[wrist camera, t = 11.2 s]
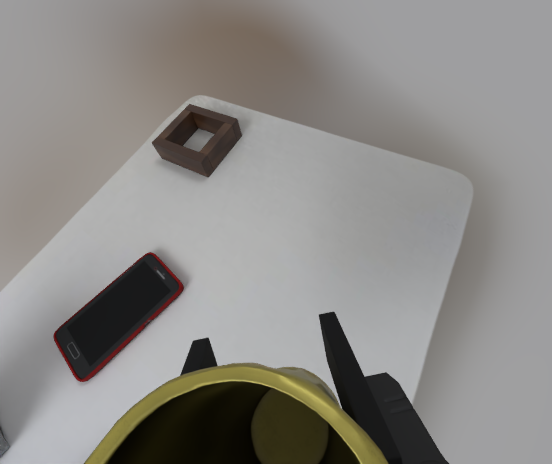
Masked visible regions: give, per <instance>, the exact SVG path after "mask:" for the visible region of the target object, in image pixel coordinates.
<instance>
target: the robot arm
mask: <svg viewBox="0 0 552 464" xmlns="http://www.w3.org/2000/svg"><path fill="white" fill-rule="evenodd" d="M319 319H320V324H321V330H322V335H323V341H324V346H325V352H326V357H327V362H328V365H329V368H330V371H331V374H332V378H333V381H334V384H335V387H336V390H337V393H338V397H339V400H340V403H341V406H342V409H343V411H344V412H346V413H347V414H348V415H349V416H350V417H351V418H352V419H353V420H354V421H355V422H356V423H357V424H358V425H359V426H360V427H361V428H362V429H363V430H364V431H365V432H366V433H367V434H368V435H369V437H370V438H371V439H372V440H373V442H374V443H375V444H376V445H377V446H378V448H379V449H380V450H381V451H382V453H383V455H384V457H385V459H386V460H387V462H388V464H449V463H448V462H447V461H446V460H445V458H444V457H443V456H442V454H441V453H440V451H439V450H438V448H437V446H436V445H435V443H434V441H433V439H432V438H431V436H430V435H429V433H428V431H427V429H426V428H425V426H424V425H423V423H422V421H421V419H420V418H419V416H418V415H417V413H416V411H415V410H414V409H413V406H412V404H411V403H410V401H409V399H408V398H407V397H406V394H405V393H404V391H403V389H402V388H401V386H400V384H399V383H398V382H397V381H396V380H395V379H394V378H392V377H391V376H390V375H389V374H387V373H381V374H376V375H371V376H366V377H364V375H363V373H362V371H361V368H360V366H359V364H358V362H357V360H356V358H355V355H354V353H353V351H352V349H351V347H350V345H349V342H348V340H347V338H346V336H345V334H344V332H343V329H342V327H341V325H340V323H339V321H338V319H337V316H336V314H335V312H330V313H325V314H320V315H319ZM216 366H217V363H216V359H215V356H214V353H213V350H212V347H211V344H210V341H209V338H204V339H199V340H194V341H193V343H192V345H191V348H190V351H189V353H188V356H187V359H186V361H185V364H184V367H183V370H182V372H181V375H184V374H187V373H190V372H194V371H197V370H201V369H206V368H211V367H216ZM181 375H180V376H181Z"/></svg>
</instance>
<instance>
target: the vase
mask: <svg viewBox="0 0 552 464" xmlns="http://www.w3.org/2000/svg"><path fill="white" fill-rule="evenodd" d="M84 464H388V462H387V460H386V459H385V457H384V455H383V453H382V451H381V450H380V449H379V448H378V446H377V445H376V444H375V443H374V442H373V440H372V439H371V438H370V437H369V435H368V434H367V433H366V432H365V431H364V430H363V429H362V428H361V427H360V426H359V425H358V424H357V423H356V422H355V421H354V420H353V419H352V418H351V417H350V416H349V415H348V414H347V413H346V412H344V411H343V410H342V409H341V408H340V405H339V403H338V401H337V399H336V397H335V395H334V393H333V392H332V390H331V389H330V388H329V387H328V386H327V384H326V383H325V382H324V381H322V380H321V379H320V378H319V377H318V376H316V375H315V374H313V373H311V372H309V371H307V370H305V369H302V368H296V367H282V368H277V369H275V368H270V367H267V366H264V365H261V364H257V363H232V364H228V365H222V366H216V367H211V368H206V369H201V370H197V371H194V372H190V373H187V374H184V375H181V376H179V377H177V378H174V379H172V380H170V381H168V382H166V383H165V384H163V385H162V386H160V387H158V388H157V389H155V390H154V391H152V392H151V393H149V394H148V395H147V396H146V397H144V398H143V399H142V400H140V401H139V402H138V403H136V404H135V405H134V406H133V407H132V408H130V409H129V410H128V411H127V412H126V413H125V414H124V415H123V416H122V417H121V418H120V419H119V420H118V421H117V422H116V423H115V424H114V426H113V427H112V428H111V430H110V431H109V432H108V433H107V435H106V436H105V437H104V438H103V440H102V441H101V442H100V443H99V445H98V446H97V447H96V449H95V450H94V451H93V452H92V454H91V455H90V456H89V458H88V459H87V460H86V461H85V463H84Z"/></svg>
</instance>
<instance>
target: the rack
mask: <svg viewBox="0 0 552 464" xmlns="http://www.w3.org/2000/svg"><path fill="white" fill-rule="evenodd" d="M198 128H200V129H203V130H205V131H208V132H211V133H214V134H215V135H214V136H213V137H212V138H211V139H210V140H209V141H208V143H207V144H206V145H205V146H204V147H203V148H202V150H201V151H200V152H197V151H194V150H191V149H189V148H186V147H184V146H182V145H183V144H184V143H185V142H186V141H187V140H188V139H189V138H190V136H191V135H192V134H193V133H194V132H195V131H196V130H197V129H198ZM241 136H242V134H241V131H240V127H239V123H238V120H237V119H236V118H233V117H230V116H226V115H223V114H220V113H217V112H214V111H210V110H207V109H204V108H201V107H198V106H194V105H191V104H189V105H188V106H187V107H186V108H185V109H184V110H183V111H182V112H181V113H180V114H179V115H178V116H177V117H176V118H175V119H174V120H173V121H172V122H171V123H170V125H169V126H168V127H167V128H166V129H165V130H164V131H163V132H162V133H161V134H160V135H159V136H158V137H157V138H156V139H155V140H154V141H153V142H152V144H153V146H154V147H155V149H156V150H157V152H158V153H159V155H160V156H161V158H162V159H165V160H167V161H170V162H172V163H175V164H177V165H179V166H182V167H184V168H187V169H189V170H192V171H194V172H196V173H199V174H201V175H204V176H206V177H209V176H210V175H211V173H212V172H213V170H215V168H216V167H217V166H218V165H219V163H220V162H221V161H222V160H223V158H224V157H225V156H226V155H227V153H228V152H229V151H230V150H231V149H232V147H233V146H234V145H235V144H236V142H237V141H238V140H239V139H240V137H241Z"/></svg>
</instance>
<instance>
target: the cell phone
mask: <svg viewBox="0 0 552 464" xmlns="http://www.w3.org/2000/svg"><path fill="white" fill-rule="evenodd" d="M134 264H135V265H134ZM134 264H133V265H132V266H131V267H129V268H128V269H127V270H128V271H127V270H126V271H125V272H124V273H122V274H121V275H122V276H121V275H120V276H121V277H120V276H119V277H118V278H117V279H115V280H114V281H113V282H112V283H111V284H109V285H108V286H107V287H106V288H105V289H104V290H102V291H101V292H100V293H99V294H98V295H97V296H95V297H94V298H93V299H92V300H91V301H90V302H88V303H87V304H86V305H85V306H84V307H83V308H81V309H80V310H79V311H78V312H77V313H75V314H74V315H73V316H72V317H71V318H70V319H68V320H67V321H66V322H65V323H64V324H63V325H61V326H60V327H59V328H58V329H57V330H56V331H55V333H54V341H55V343H56V345H57V346H58V348H59V350H60V352H61V354H62V355H63V357H64V359H65V361H66V362H67V364H68V366H69V368H70V370H71V371H72V373H73V375H74V376H75V378H76V379H77V380H78V381H80V382H85V381H88V380H89V379H90V378H92V377H93V376H94V375H95V374H96V373H97V372H98V371H99V370H100V369H101V368H102V367H104V366H105V365H106V364H107V363H108V362H109V361H110V360H111V359H112V358H113V357H114V356H115V355H116V354H117V353H118V352H119V351H120V350H121V349H122V348H124V347H125V346H126V345H127V344H128V343H129V342H130V341H131V340H132V339H133V338H134V337H135V336H136V335H137V334H138V333H139V332H140V331H141V330H143V329H144V328H145V326H146V325H147V324H148V323H149V322H150V321H151V320H153V319H154V318H155V317H156V316H157V315H158V314H160V313H161V312H162V311H163V310H164V309H165V308H166V307H167V306H168V305H169V304H170V303H171V302H172V301H173V300H174V299H175V298H176V297H177V296H178V295H179V294H180V293H181V292H182V291H183V289H184V288H183V284H182V283H181V282H180V280H179V279H178V278H177V277H176V276H175V275H174V274H173V273H172V272H171V271H170V269H169V268H168V267H167V266H166V265H165V264H164V263H163V262H162V261H161V260H160V259H159V258H158V257H157V256H156V255H155V254H154V253H151V252H150V253H147V254H145V255H144V256H143V257H141V258H140V259H139V260H138V261H136V262H135V263H134Z"/></svg>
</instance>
